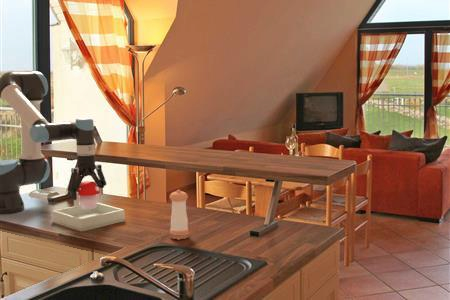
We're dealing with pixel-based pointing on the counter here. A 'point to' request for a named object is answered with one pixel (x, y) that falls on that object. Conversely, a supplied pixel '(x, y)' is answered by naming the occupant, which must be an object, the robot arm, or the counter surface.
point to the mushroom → (88, 194)
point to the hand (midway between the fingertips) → (88, 204)
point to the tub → (88, 217)
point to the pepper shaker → (179, 213)
